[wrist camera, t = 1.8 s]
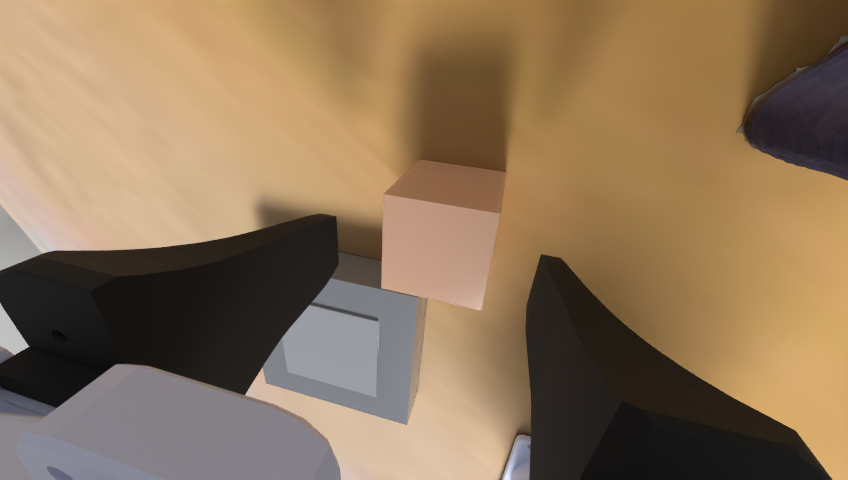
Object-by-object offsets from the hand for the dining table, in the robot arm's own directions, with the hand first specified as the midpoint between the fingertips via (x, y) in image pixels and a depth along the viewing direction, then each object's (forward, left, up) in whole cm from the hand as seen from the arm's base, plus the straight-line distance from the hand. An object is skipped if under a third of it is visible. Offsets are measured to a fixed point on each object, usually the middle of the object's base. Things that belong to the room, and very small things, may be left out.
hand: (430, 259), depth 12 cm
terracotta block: (0, 0, -6) cm, 6 cm away
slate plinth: (+6, +9, -5) cm, 12 cm away
